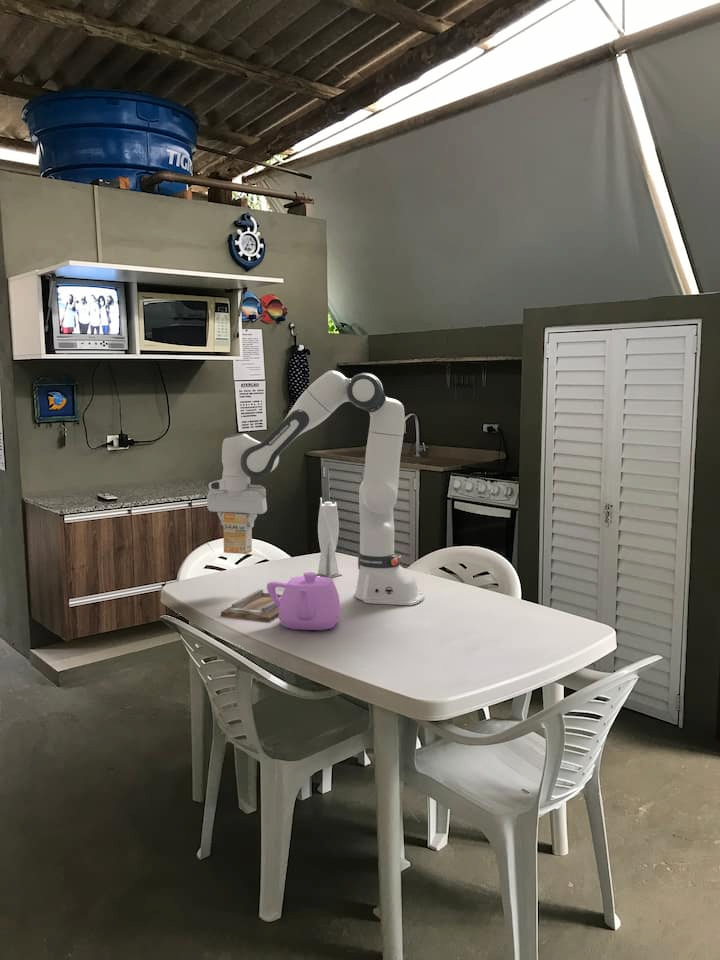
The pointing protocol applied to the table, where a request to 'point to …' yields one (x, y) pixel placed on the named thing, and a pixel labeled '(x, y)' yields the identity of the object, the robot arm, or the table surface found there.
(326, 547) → the skyscraper
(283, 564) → the table surface
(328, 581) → the teapot
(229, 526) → the supplement box
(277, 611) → the rail board
